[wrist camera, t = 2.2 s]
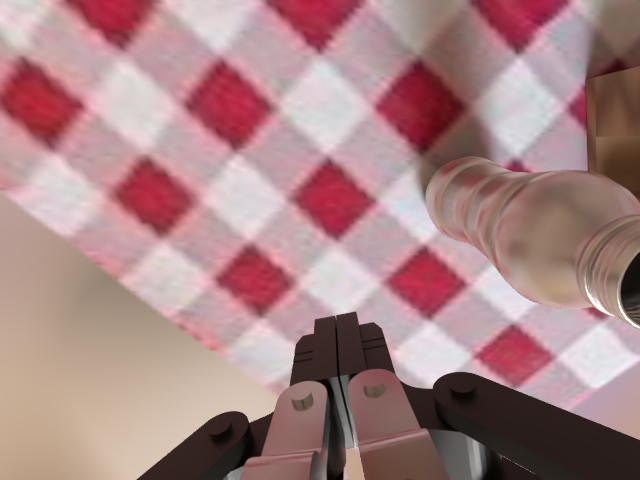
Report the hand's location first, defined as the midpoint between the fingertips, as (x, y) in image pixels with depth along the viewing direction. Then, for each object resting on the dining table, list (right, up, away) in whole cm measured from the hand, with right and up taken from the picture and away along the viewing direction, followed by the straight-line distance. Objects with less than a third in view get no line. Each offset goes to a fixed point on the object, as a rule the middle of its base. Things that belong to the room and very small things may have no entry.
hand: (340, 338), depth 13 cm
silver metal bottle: (+11, +7, +18) cm, 23 cm away
